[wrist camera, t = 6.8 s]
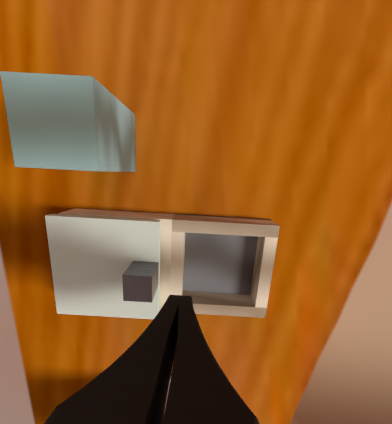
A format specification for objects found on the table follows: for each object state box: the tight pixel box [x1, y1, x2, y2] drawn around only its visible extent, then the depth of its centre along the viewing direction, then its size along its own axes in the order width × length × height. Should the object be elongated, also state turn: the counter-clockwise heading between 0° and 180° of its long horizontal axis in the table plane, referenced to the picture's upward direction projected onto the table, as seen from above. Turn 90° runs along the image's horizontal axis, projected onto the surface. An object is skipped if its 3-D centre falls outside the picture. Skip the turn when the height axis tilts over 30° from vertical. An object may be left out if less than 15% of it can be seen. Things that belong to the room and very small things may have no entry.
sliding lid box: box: [58, 208, 280, 318], centre depth 16 cm, size 8×18×2 cm, turn 87°
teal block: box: [0, 71, 136, 172], centre depth 12 cm, size 4×4×6 cm
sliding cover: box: [45, 214, 161, 319], centre depth 14 cm, size 8×8×3 cm
